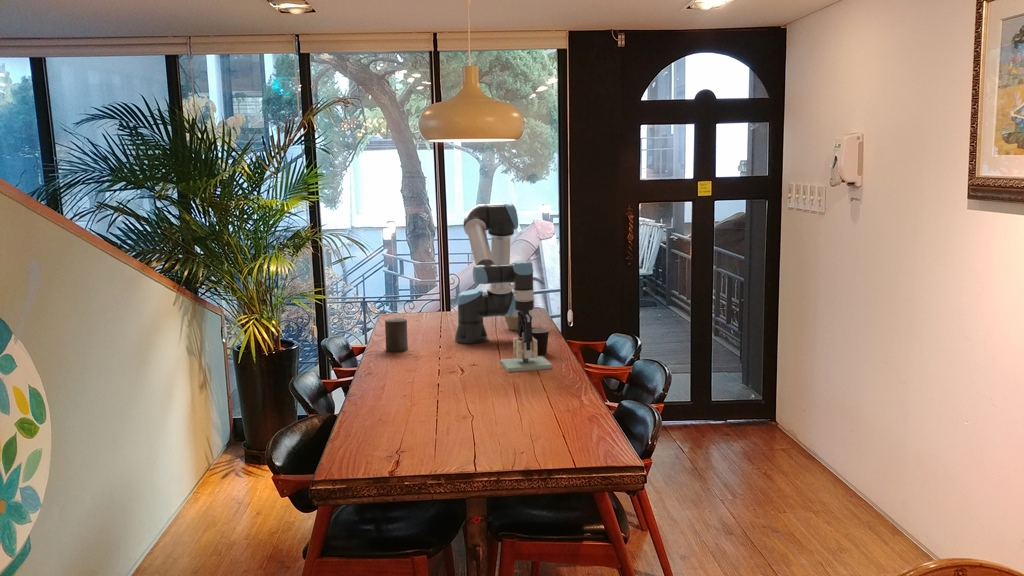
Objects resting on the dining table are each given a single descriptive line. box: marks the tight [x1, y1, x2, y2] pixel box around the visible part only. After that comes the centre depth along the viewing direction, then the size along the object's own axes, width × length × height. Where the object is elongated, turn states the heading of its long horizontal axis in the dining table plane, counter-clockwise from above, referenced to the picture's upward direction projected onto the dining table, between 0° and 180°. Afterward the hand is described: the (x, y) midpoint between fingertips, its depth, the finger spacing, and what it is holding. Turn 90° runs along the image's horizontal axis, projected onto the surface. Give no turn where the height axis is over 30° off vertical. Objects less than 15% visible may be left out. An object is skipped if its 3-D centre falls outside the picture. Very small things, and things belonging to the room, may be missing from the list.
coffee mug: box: [532, 328, 550, 356], centre depth 346 cm, size 12×9×10 cm
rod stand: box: [499, 332, 553, 373], centre depth 324 cm, size 15×18×14 cm
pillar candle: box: [384, 316, 409, 353], centre depth 358 cm, size 10×10×15 cm
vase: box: [503, 282, 535, 332], centre depth 395 cm, size 16×16×23 cm
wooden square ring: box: [512, 336, 539, 359], centre depth 324 cm, size 8×8×7 cm
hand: (525, 355), depth 325 cm, fingers closed on wooden square ring, 8 cm apart
